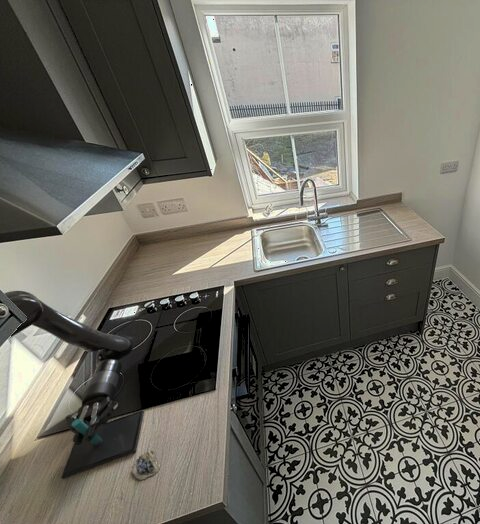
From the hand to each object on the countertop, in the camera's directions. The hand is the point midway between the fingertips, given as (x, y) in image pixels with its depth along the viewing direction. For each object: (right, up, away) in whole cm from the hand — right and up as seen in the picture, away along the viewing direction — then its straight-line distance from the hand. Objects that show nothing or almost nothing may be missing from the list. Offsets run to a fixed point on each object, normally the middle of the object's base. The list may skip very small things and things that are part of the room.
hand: (82, 441), depth 81 cm
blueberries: (+17, -8, +1) cm, 19 cm away
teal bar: (-1, -4, +6) cm, 8 cm away
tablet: (+1, -5, +7) cm, 9 cm away
